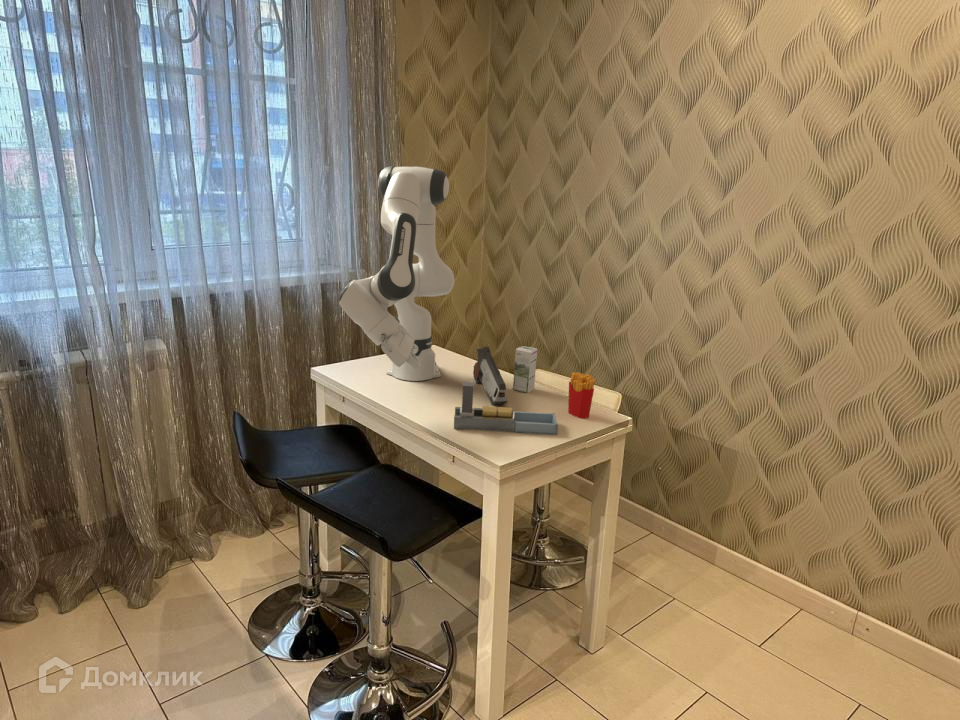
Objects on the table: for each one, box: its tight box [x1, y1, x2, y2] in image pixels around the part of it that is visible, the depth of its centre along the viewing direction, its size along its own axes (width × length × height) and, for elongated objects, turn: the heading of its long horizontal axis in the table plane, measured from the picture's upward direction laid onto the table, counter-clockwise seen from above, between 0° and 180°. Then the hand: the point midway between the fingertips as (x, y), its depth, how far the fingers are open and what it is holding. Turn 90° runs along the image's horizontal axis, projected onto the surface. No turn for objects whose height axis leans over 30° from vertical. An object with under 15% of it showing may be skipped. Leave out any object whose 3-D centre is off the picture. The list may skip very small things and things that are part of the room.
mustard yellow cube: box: [496, 406, 513, 418], centre depth 199 cm, size 4×4×4 cm
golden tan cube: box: [482, 405, 498, 418], centre depth 199 cm, size 4×4×4 cm
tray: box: [513, 410, 559, 436], centre depth 200 cm, size 9×12×3 cm
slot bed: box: [453, 406, 515, 433], centre depth 199 cm, size 8×17×4 cm, turn 90°
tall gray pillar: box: [460, 381, 475, 416], centre depth 198 cm, size 4×4×11 cm
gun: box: [472, 346, 508, 405], centre depth 226 cm, size 5×27×15 cm, turn 15°
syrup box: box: [512, 345, 538, 394], centre depth 230 cm, size 6×6×14 cm
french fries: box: [567, 371, 597, 420], centre depth 210 cm, size 9×4×13 cm, turn 38°
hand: (418, 366), depth 195 cm, fingers closed
